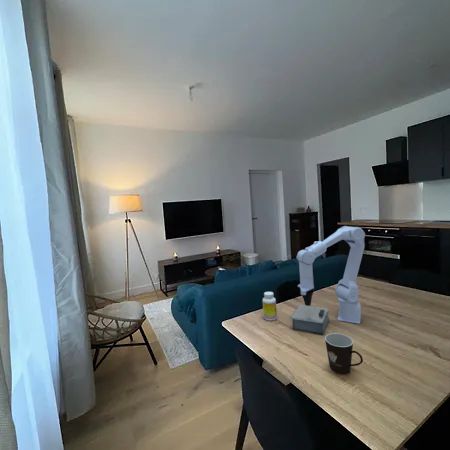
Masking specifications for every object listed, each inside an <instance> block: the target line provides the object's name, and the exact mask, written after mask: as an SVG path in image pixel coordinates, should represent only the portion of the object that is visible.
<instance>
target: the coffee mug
mask: <svg viewBox="0 0 450 450" xmlns="http://www.w3.org/2000/svg"><path fill="white" fill-rule="evenodd" d="M324 341H325V346H326V351H327V358H328V365H329V369H330V370H331V371H332V372H334V373H335V374H338V375H348V374H350V373H351V369H352V367H358V366H360V365H362V364H363V362H364V359H363V356H362V355H361V354H360V352H359V351H357V350H353V349H354V348H353V347H354V340H353V339H352V338H351V337H350V336H349V335H346V334H343V333H339V332H338V333H337V332H334V333H328V334H326V335H325V336H324ZM353 354H356V355H358V357H359V358H360V361H359V362H358V363H352V359H353V358H352V357H353Z"/></svg>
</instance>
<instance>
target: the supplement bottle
mask: <svg viewBox="0 0 450 450" xmlns="http://www.w3.org/2000/svg"><path fill="white" fill-rule="evenodd" d="M263 296H264V297H262V310H263V311H262V314H263V315H262V316H263V318H264V320H265V321H275V320H276V319H277V318H278V314H277V313H278V311H277V301H276V297H274V292H273V291H265V292H264V293H263Z"/></svg>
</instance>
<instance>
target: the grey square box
mask: <svg viewBox="0 0 450 450" xmlns="http://www.w3.org/2000/svg"><path fill="white" fill-rule="evenodd" d="M291 320H292V321H291V322H292V330H295V331H299V332H303V333H309V334H310V333H311V334H316V335H319V336H324V335H325V333H326V329H327V326H328V325H329V322H330V321H329V311H328V312H327V314H326V317H325V319H324V321H323V323H316V322H310V321H303V320H296V319H291Z"/></svg>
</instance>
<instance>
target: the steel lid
mask: <svg viewBox="0 0 450 450" xmlns="http://www.w3.org/2000/svg"><path fill="white" fill-rule="evenodd" d="M327 312H328V313H329V307H328V308H327V307H321V306H320V307H319V306H313V305H310V306H306V305H305V304H299V305H297V307H296V309H295V310H294V311H293V313H292V314H291V316H290V319H291V320H292V319H296V320H303V321H310V322H316V323H323V321H324V319H325V317H326V314H327Z"/></svg>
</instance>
